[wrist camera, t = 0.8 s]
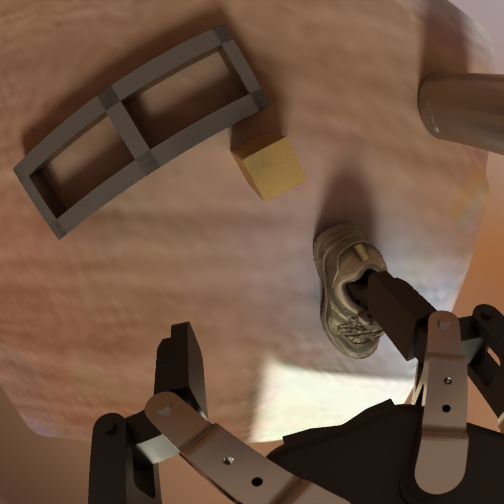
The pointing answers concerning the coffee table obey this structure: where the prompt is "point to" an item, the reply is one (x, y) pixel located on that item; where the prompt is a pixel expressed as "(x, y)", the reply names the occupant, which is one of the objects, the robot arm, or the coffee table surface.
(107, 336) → the coffee table surface
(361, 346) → the hiking shoe
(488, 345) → the robot arm
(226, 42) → the dark grey rectangular tray
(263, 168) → the block
